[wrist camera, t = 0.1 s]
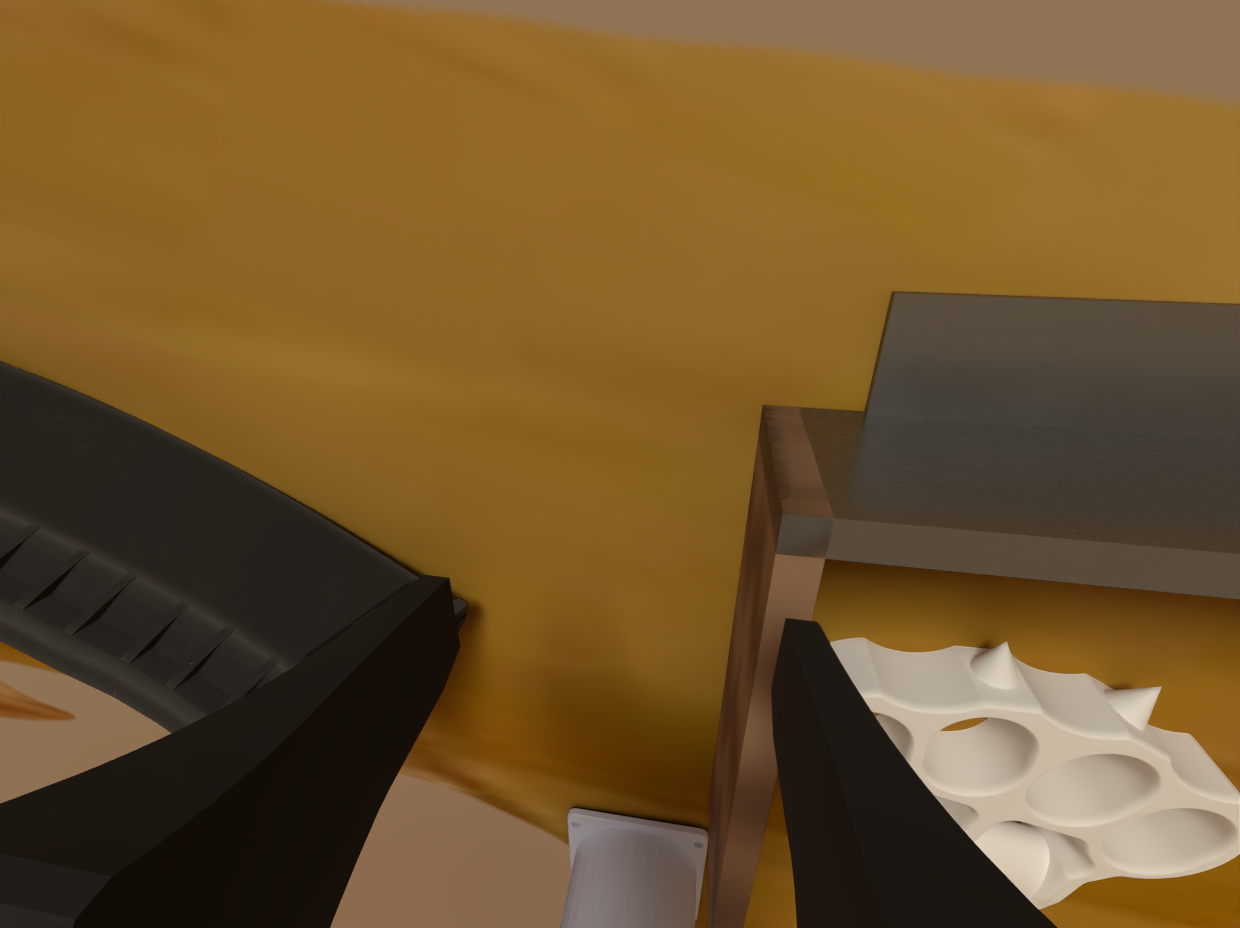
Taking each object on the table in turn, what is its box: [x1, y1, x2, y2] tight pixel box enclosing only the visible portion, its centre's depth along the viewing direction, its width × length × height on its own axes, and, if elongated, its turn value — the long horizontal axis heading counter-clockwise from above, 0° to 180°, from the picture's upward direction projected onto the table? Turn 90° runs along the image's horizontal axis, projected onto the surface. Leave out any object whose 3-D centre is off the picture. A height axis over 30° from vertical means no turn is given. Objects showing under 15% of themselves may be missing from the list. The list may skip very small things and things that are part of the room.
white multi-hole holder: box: [830, 638, 1240, 909], centre depth 25 cm, size 3×18×15 cm
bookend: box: [759, 291, 1240, 599], centre depth 14 cm, size 5×23×7 cm, turn 89°
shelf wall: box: [707, 405, 834, 928], centre depth 20 cm, size 23×23×7 cm
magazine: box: [0, 362, 469, 733], centre depth 21 cm, size 17×3×30 cm
